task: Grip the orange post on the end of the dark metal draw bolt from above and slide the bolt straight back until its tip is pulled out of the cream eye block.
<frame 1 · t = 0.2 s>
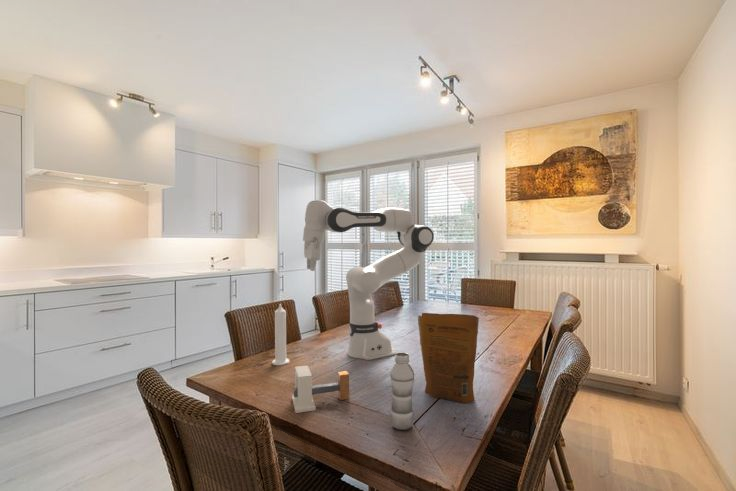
hand: (310, 269, 148), 39 cm above the table, tool pointing down, fingers open, 8 cm apart
candle: (280, 363, 146), on the table
eye block: (303, 404, 109), on the table
draw bolt: (321, 388, 111), point 4 cm above the table, slide at 0.0 cm
plastic bottle: (401, 427, 96), on the table
pancake mix bag: (448, 398, 113), on the table
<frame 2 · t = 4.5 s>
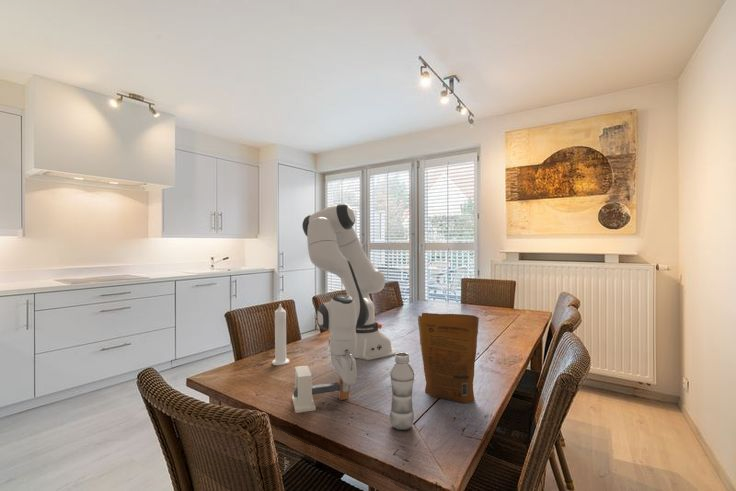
hand: (343, 387, 113), 3 cm above the table, tool pointing down, fingers closed on draw bolt, 3 cm apart
draw bolt: (321, 388, 111), point 4 cm above the table, slide at 0.0 cm, touching gripper
everything else where it was.
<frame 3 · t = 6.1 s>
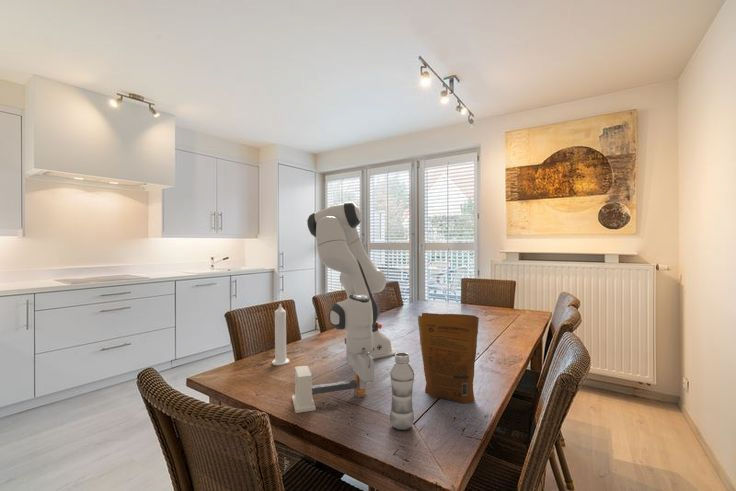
hand: (360, 385, 115), 3 cm above the table, tool pointing down, fingers closed on draw bolt, 3 cm apart
draw bolt: (338, 385, 112), point 4 cm above the table, slide at 5.6 cm, touching gripper
everything else where it was.
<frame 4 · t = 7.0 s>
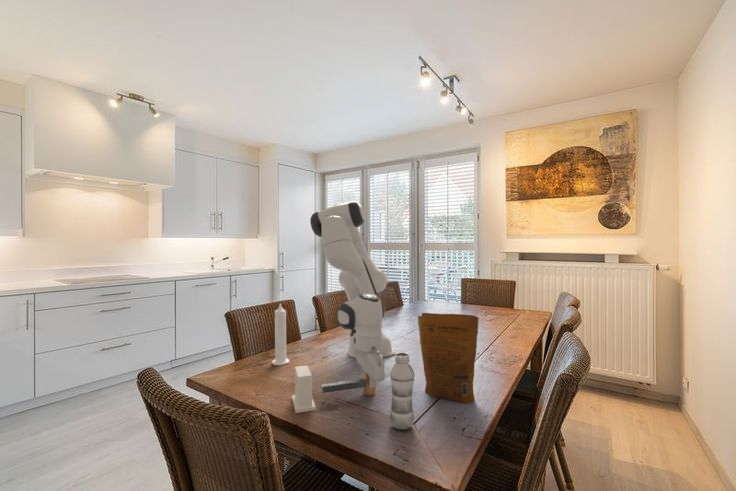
hand: (369, 384, 116), 3 cm above the table, tool pointing down, fingers closed on draw bolt, 3 cm apart
draw bolt: (348, 384, 114), point 4 cm above the table, slide at 8.9 cm, touching gripper
everything else where it was.
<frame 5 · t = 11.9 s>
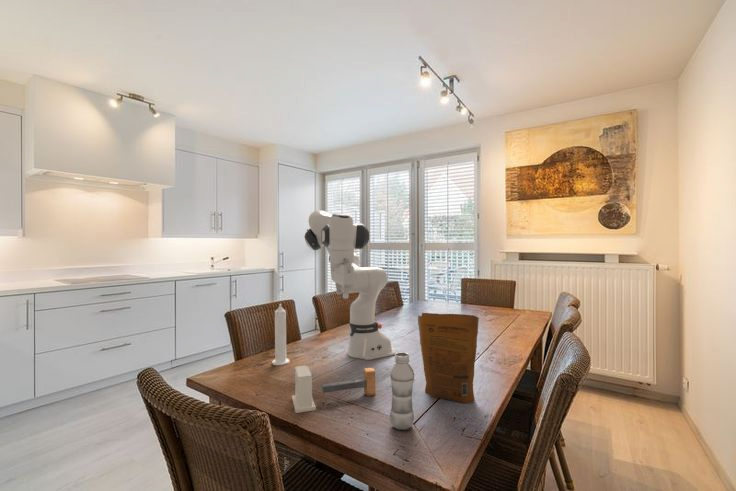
hand: (342, 296, 126), 31 cm above the table, tool pointing down, fingers open, 8 cm apart
draw bolt: (348, 384, 114), point 4 cm above the table, slide at 9.0 cm
everything else where it was.
at the end: draw bolt slide at 9.0 cm; the gripper is holding nothing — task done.
